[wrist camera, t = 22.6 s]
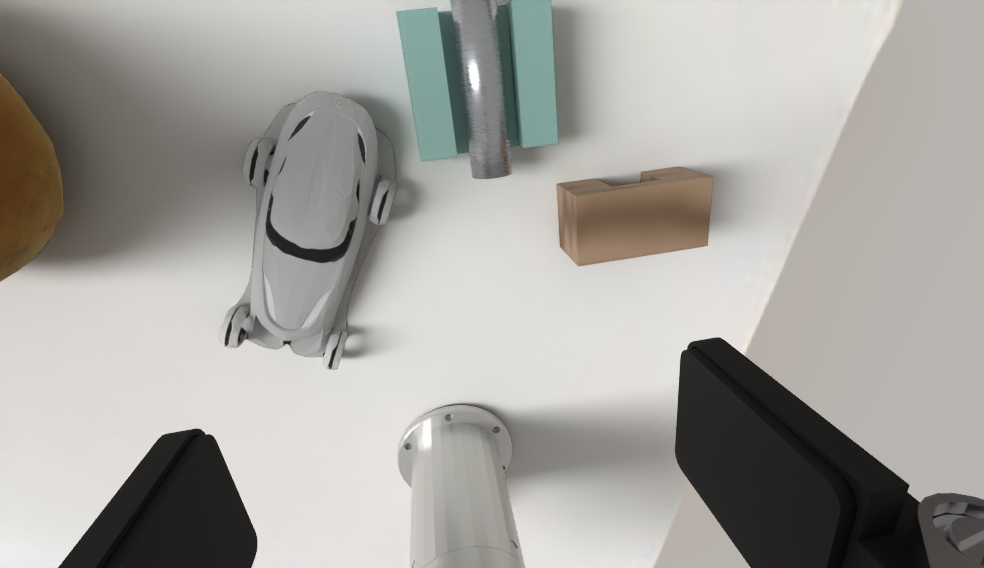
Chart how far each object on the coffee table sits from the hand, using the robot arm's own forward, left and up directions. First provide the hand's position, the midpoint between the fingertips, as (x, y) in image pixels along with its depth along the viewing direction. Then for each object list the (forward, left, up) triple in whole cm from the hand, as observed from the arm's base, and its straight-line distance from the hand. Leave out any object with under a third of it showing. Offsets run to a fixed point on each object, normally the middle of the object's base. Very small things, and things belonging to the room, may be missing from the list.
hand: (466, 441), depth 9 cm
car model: (-4, +11, -34) cm, 35 cm away
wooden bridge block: (-5, -17, -33) cm, 37 cm away
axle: (+7, -5, -31) cm, 32 cm away
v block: (+7, -5, -33) cm, 34 cm away
